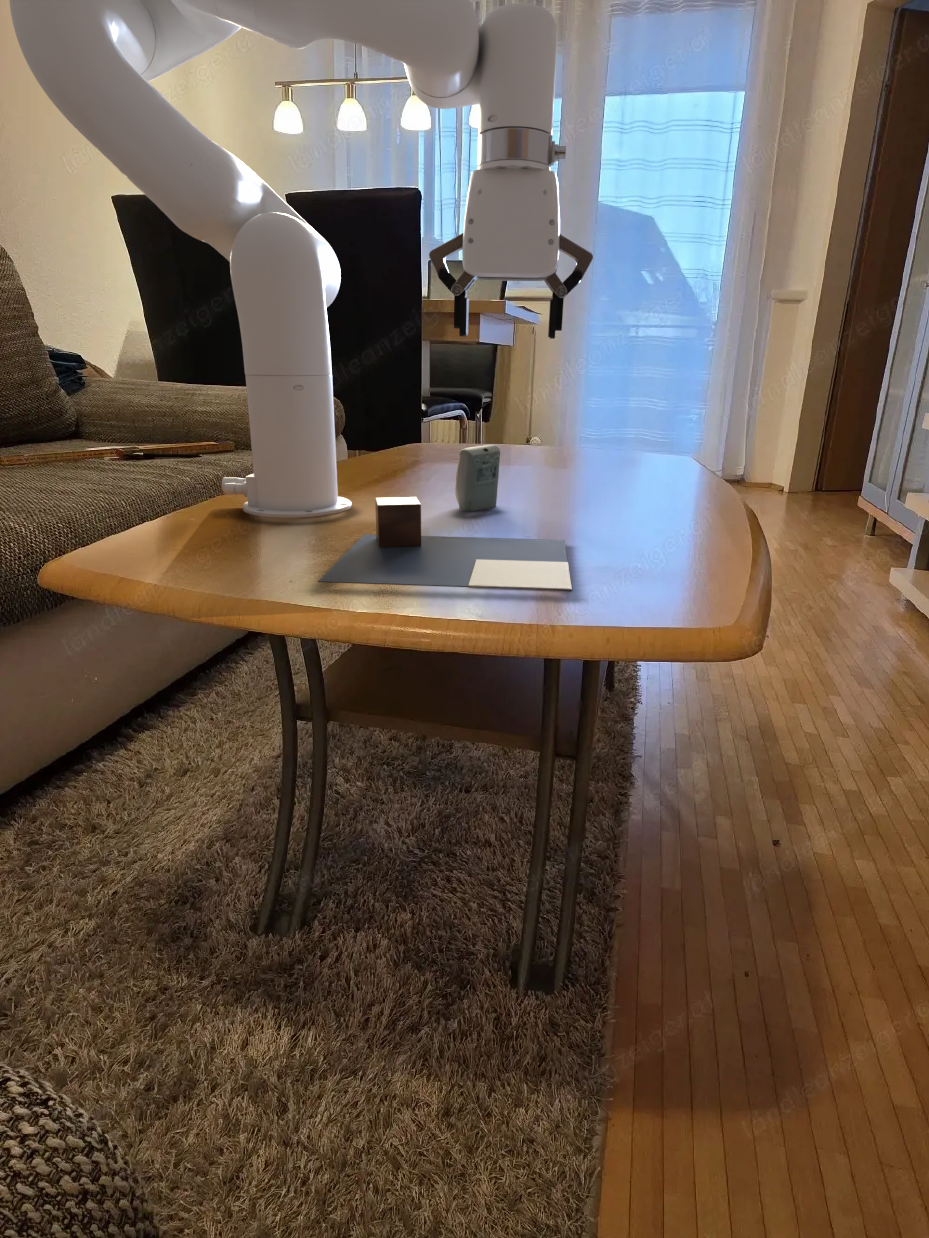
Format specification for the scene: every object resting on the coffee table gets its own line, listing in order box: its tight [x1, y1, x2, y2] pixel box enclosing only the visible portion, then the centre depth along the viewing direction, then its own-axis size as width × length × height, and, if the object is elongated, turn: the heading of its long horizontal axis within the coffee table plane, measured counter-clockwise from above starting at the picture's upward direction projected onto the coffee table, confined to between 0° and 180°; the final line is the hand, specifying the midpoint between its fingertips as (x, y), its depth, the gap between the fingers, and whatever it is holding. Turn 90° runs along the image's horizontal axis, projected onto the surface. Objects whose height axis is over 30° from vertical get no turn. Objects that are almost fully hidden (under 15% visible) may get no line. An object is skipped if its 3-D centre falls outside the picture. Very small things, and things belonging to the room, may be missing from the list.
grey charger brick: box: [454, 444, 501, 512], centre depth 89 cm, size 6×5×8 cm
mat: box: [317, 533, 573, 591], centre depth 67 cm, size 20×17×1 cm
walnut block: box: [374, 496, 422, 547], centre depth 72 cm, size 4×4×4 cm
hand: (507, 337), depth 83 cm, fingers open, 9 cm apart
